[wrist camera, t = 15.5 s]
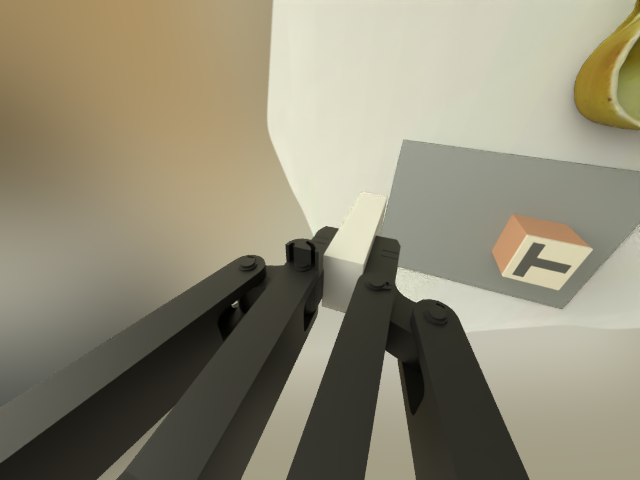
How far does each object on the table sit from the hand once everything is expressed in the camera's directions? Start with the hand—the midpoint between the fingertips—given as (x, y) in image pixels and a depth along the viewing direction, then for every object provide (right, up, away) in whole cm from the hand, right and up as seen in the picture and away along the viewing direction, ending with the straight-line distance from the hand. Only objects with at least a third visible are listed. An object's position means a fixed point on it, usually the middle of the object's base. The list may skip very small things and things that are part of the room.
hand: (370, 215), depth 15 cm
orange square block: (+23, -4, +14) cm, 27 cm away
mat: (+21, 0, +20) cm, 29 cm away
